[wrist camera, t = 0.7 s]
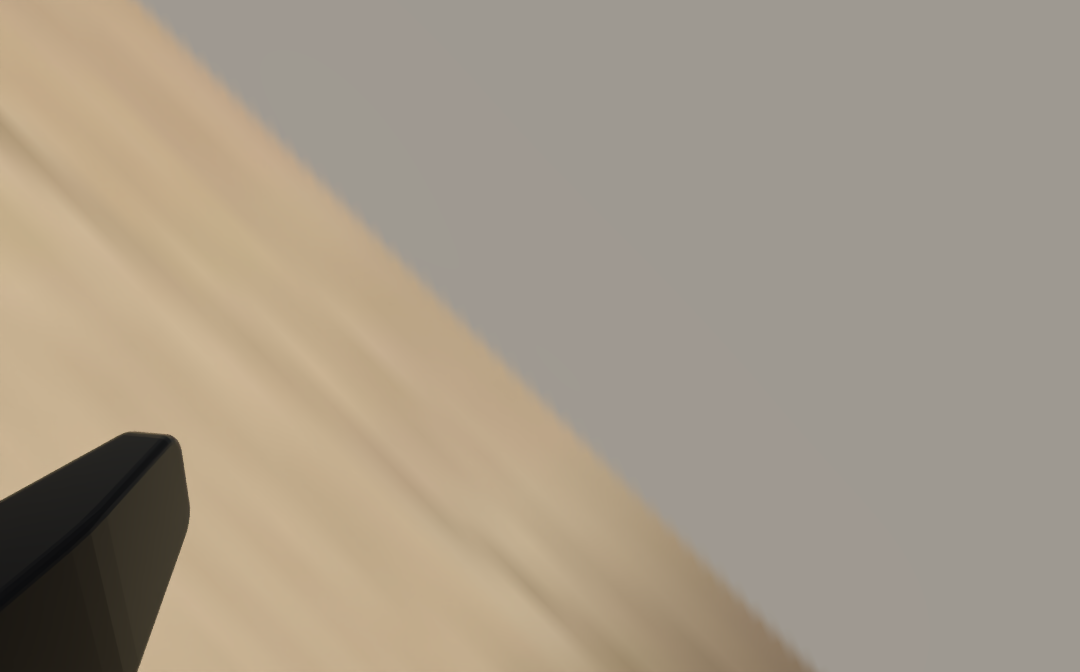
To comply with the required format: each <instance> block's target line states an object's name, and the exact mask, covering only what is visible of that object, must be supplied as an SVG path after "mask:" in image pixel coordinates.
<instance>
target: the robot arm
mask: <svg viewBox="0 0 1080 672" xmlns="http://www.w3.org/2000/svg"><path fill="white" fill-rule="evenodd" d="M189 517H190V504H189V497H188V490H187V483H186V477H185V470H184V463H183V456H182V450H181V447H180V444H179V442H178V440H177V439H176V438H174V437H173V436H171V435H168V434H157V433H146V432H126V433H123V434H121V435H119V436H117V437H115V438H113V439H112V440H110V441H108V442H106V443H104V444H102V445H101V446H99V447H97V448H95V449H93V450H92V451H90V452H88V453H86V454H84V455H83V456H81V457H79V458H77V459H75V460H73V461H72V462H70V463H68V464H66V465H64V466H63V467H61V468H59V469H57V470H55V471H54V472H52V473H50V474H48V475H46V476H44V477H43V478H41V479H39V480H37V481H35V482H34V483H32V484H30V485H28V486H26V487H25V488H23V489H21V490H19V491H17V492H15V493H14V494H12V495H10V496H8V497H6V498H5V499H3V500H1V501H0V672H137V671H138V668H139V666H140V663H141V660H142V657H143V654H144V651H145V649H146V646H147V643H148V640H149V637H150V635H151V632H152V629H153V626H154V623H155V620H156V618H157V615H158V612H159V609H160V606H161V603H162V601H163V598H164V595H165V592H166V589H167V587H168V584H169V581H170V578H171V575H172V572H173V570H174V567H175V564H176V561H177V558H178V555H179V553H180V550H181V547H182V544H183V541H184V539H185V536H186V532H187V529H188V524H189Z"/></svg>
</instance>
